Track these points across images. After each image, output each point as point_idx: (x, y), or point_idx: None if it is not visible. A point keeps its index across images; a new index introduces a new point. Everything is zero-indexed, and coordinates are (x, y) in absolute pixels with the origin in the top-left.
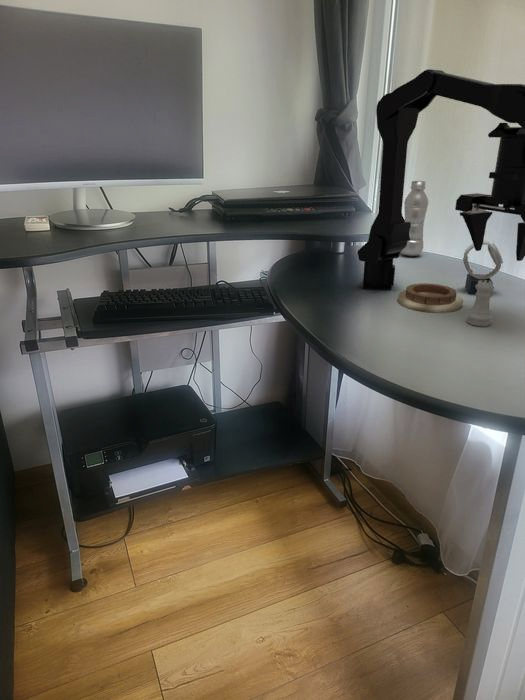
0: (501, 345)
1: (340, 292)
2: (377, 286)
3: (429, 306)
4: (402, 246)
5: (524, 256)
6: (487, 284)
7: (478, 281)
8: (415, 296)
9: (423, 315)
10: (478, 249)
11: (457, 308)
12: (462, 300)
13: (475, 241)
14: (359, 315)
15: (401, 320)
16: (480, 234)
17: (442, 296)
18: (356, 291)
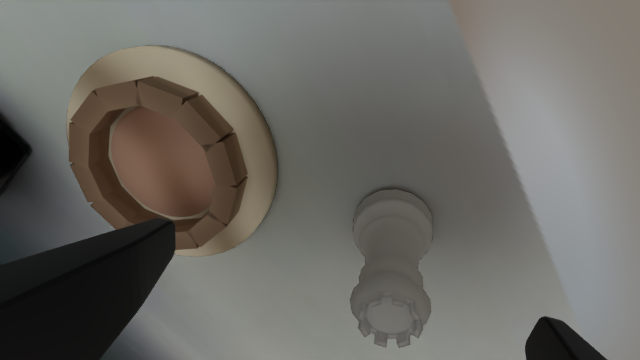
0: (523, 323)
1: (10, 260)
2: (2, 174)
3: (230, 239)
4: None
5: (586, 344)
6: (403, 324)
7: (364, 335)
8: None
9: (252, 267)
10: (169, 246)
11: (275, 162)
12: (245, 106)
13: (126, 324)
14: (174, 354)
15: (248, 327)
16: (71, 325)
17: (222, 208)
18: (13, 226)
